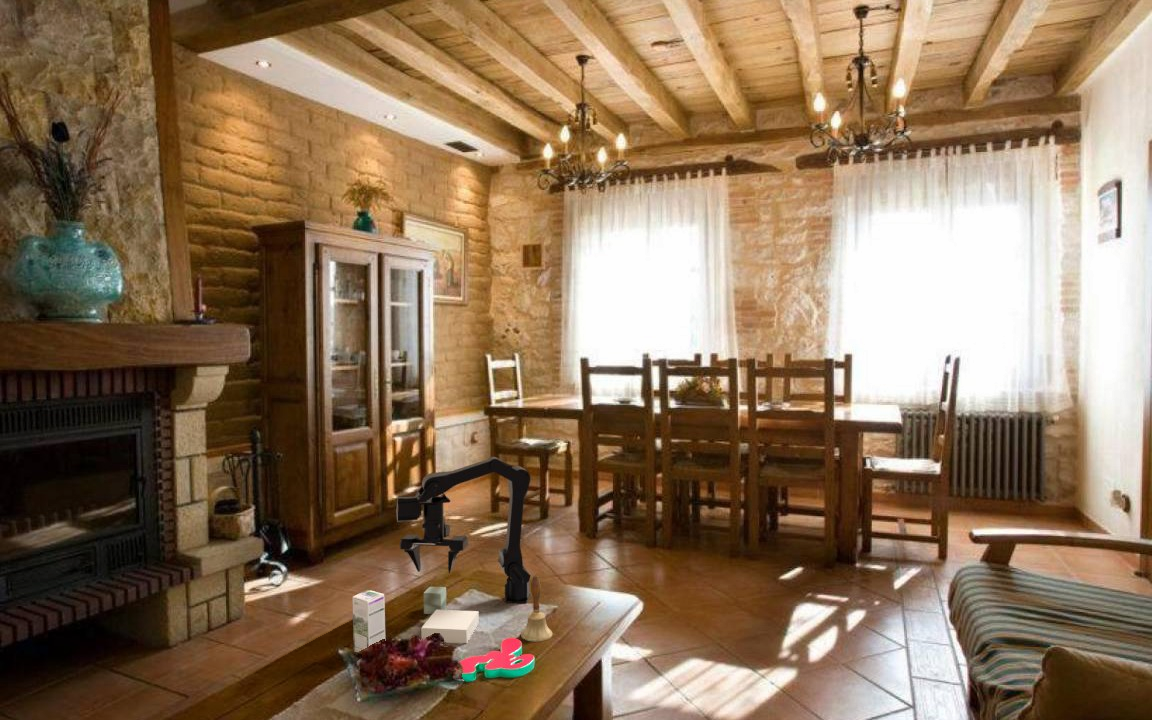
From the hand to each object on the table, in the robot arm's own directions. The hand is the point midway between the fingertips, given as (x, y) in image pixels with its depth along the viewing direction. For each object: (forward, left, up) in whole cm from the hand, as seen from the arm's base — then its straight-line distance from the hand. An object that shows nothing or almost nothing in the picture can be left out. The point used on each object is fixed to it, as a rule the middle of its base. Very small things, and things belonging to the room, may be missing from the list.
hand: (434, 571), depth 200 cm
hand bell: (-32, +14, -11) cm, 37 cm away
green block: (0, +1, -11) cm, 11 cm away
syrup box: (+8, +28, -11) cm, 31 cm away
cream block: (-9, +15, -11) cm, 21 cm away
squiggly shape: (-24, +32, -12) cm, 42 cm away
